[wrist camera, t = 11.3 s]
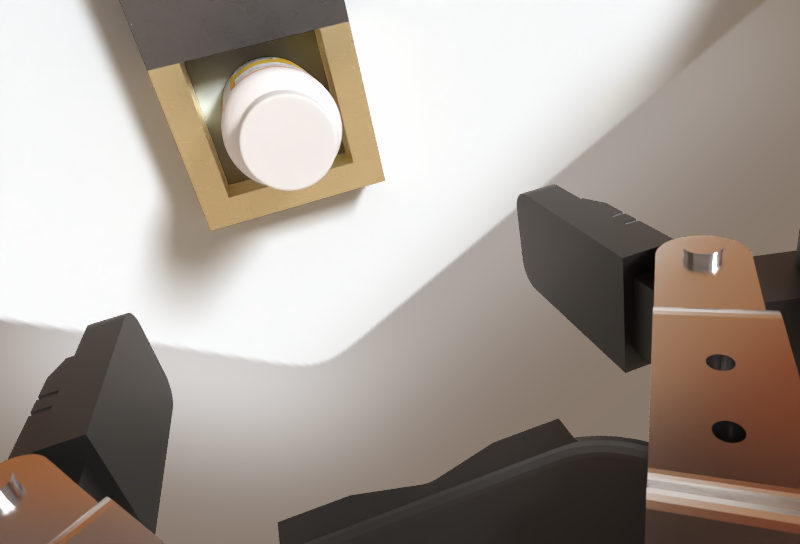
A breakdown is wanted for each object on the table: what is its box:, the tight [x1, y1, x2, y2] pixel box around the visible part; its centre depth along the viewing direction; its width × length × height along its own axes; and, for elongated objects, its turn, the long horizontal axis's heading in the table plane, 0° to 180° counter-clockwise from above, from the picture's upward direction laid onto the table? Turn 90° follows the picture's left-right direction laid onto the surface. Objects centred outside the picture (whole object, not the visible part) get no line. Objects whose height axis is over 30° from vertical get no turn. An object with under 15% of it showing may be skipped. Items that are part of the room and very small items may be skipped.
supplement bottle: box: [221, 57, 342, 191], centre depth 27 cm, size 5×5×10 cm
